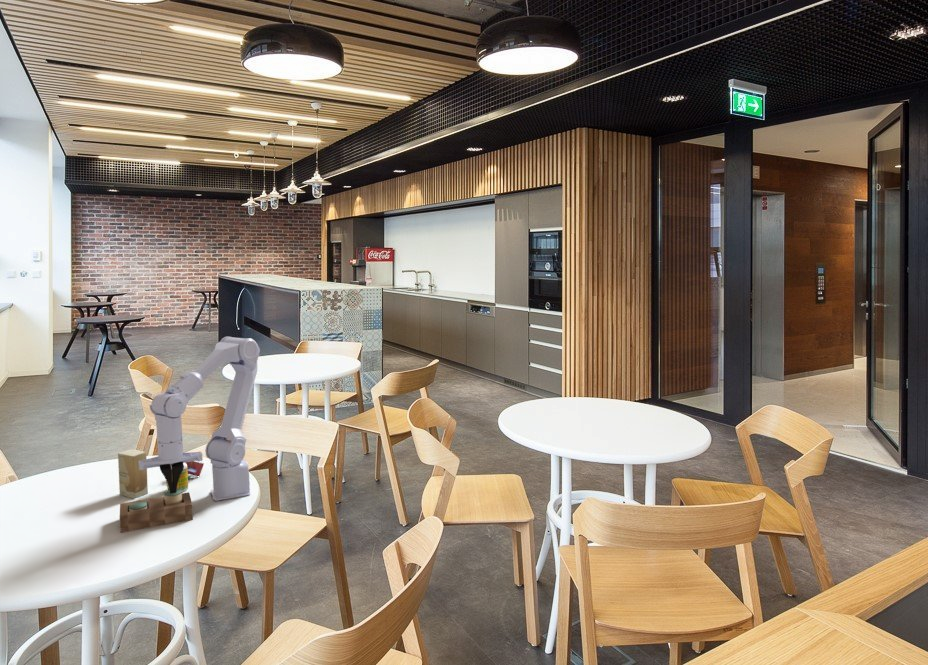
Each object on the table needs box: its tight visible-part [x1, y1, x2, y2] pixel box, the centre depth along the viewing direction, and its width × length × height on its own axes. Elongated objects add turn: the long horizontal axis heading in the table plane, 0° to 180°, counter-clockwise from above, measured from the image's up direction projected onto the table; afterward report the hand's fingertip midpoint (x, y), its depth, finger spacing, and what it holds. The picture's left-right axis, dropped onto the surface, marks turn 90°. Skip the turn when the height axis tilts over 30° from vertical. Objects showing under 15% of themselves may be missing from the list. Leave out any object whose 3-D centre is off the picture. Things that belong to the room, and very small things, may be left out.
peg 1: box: [129, 502, 147, 512], centre depth 154 cm, size 4×4×4 cm
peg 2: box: [163, 489, 183, 506], centre depth 157 cm, size 4×4×4 cm
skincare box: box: [117, 448, 149, 499], centre depth 171 cm, size 6×4×12 cm
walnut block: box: [119, 491, 194, 533], centre depth 156 cm, size 16×9×4 cm, turn 118°
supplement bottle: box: [166, 463, 189, 493], centre depth 175 cm, size 5×5×10 cm
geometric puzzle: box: [185, 460, 205, 478], centre depth 185 cm, size 7×7×8 cm
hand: (172, 491), depth 157 cm, fingers closed, pressing on peg 2
